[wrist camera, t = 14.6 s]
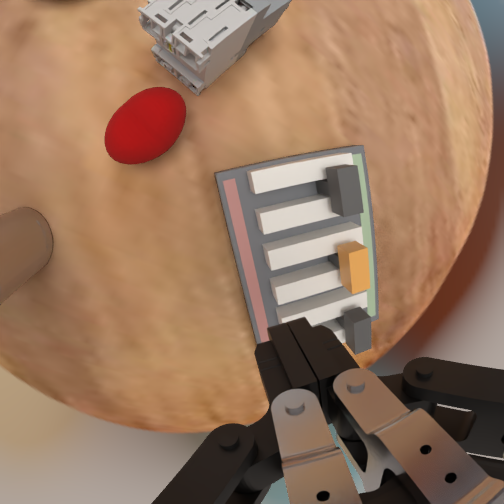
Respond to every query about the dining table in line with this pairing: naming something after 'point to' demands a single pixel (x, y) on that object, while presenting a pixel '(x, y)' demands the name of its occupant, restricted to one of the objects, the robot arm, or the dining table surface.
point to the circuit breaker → (206, 34)
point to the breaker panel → (302, 240)
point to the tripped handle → (352, 266)
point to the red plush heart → (145, 126)
